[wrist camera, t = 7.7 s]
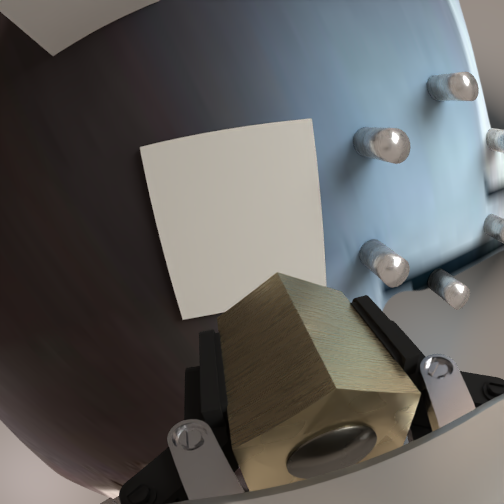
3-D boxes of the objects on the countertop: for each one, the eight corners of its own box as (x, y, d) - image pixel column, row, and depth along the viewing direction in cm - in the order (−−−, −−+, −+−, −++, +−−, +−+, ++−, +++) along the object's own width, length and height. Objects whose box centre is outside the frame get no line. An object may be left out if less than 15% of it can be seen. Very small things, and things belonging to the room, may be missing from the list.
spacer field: (343, 69, 24) (370, 59, 19) (494, 86, 25) (523, 86, 21) (358, 312, 33) (379, 338, 28) (489, 269, 35) (512, 285, 30)
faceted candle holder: (209, 285, 11) (219, 418, 6) (340, 258, 12) (434, 356, 6) (236, 393, 14) (257, 509, 8) (340, 368, 14) (394, 468, 8)
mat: (142, 146, 24) (139, 147, 23) (307, 118, 25) (311, 118, 24) (183, 314, 30) (182, 319, 29) (323, 285, 31) (326, 290, 30)
